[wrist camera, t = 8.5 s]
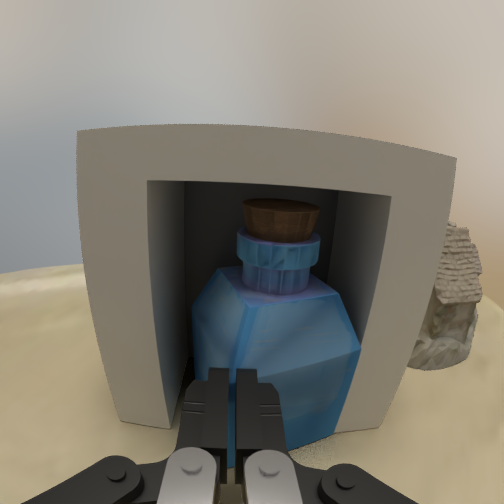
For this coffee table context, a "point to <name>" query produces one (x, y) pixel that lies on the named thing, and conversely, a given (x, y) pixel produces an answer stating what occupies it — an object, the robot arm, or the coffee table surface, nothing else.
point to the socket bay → (225, 244)
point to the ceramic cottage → (450, 305)
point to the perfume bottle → (278, 322)
